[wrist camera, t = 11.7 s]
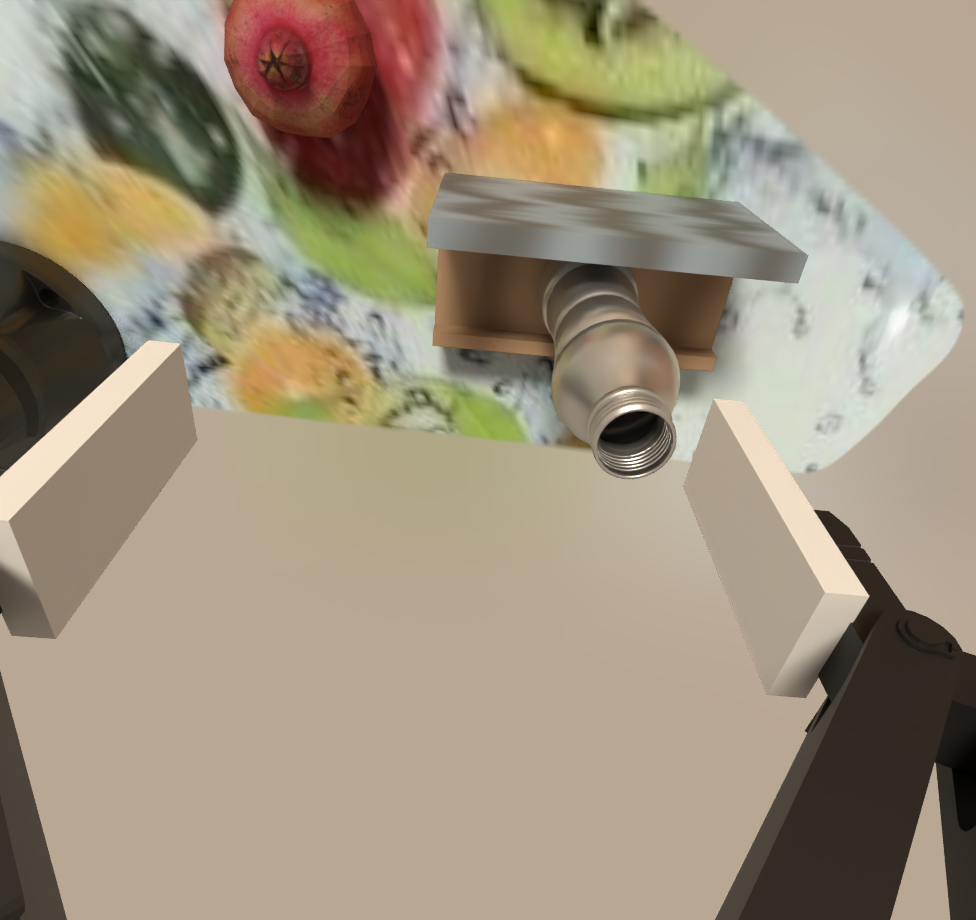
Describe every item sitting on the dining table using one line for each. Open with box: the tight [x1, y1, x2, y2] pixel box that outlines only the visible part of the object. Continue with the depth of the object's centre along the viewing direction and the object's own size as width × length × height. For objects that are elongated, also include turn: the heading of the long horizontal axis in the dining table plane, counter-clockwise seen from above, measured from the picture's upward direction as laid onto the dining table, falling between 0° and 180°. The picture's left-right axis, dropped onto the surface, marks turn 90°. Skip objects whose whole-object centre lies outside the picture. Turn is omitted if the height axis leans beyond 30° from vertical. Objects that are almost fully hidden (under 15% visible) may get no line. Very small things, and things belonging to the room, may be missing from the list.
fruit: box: [224, 0, 377, 138], centre depth 35 cm, size 8×8×10 cm
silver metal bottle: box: [538, 260, 680, 479], centre depth 36 cm, size 6×7×20 cm
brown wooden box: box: [427, 173, 808, 371], centre depth 41 cm, size 20×10×12 cm, turn 85°
